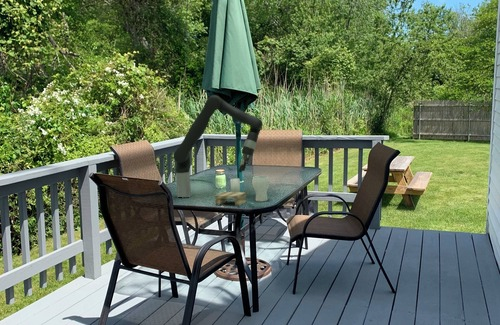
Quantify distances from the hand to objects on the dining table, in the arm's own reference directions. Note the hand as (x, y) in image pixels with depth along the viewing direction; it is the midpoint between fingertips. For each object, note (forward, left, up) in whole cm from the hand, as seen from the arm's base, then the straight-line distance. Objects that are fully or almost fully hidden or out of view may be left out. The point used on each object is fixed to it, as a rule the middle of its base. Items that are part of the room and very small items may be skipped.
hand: (241, 171), depth 326 cm
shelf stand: (-9, -10, -18) cm, 23 cm away
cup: (+11, -8, -18) cm, 23 cm away
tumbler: (-4, +3, -18) cm, 19 cm away
